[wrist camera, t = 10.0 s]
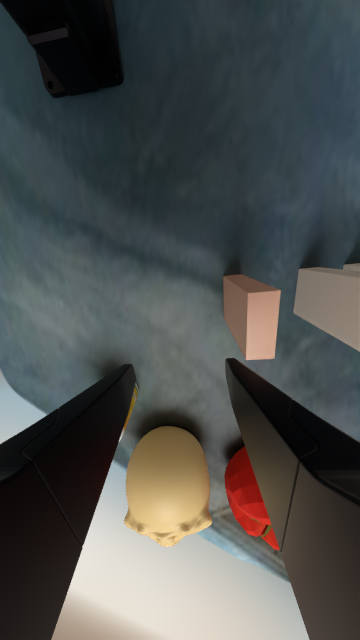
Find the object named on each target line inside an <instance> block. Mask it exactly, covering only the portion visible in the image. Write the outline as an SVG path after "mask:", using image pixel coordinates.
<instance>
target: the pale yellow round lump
mask: <svg viewBox="0 0 360 640" xmlns="http://www.w3.org/2000/svg"><path fill="white" fill-rule="evenodd" d="M126 495H127V501H128V513H127V515H126V517H125V520H124V523H125V525H126V526H127V527H129V528H131V529H133V530H135V531H136V532H137V533H139V534H141V535H147V536H149V537H150V538H151V539H153V540H156V542H157V543H159V544H160V545H162V546H165V547H169V546H173V545H174V544H176V543H178V542H179V540H180V539H182V538H183V537H184V536H186V535H190V534H193V533H196V532H198V531H200V530H202V529H205V528H206V527H208V526H210V525H211V524H212V518H211V515H210V513H209V511H208V507H209V498H210V481H209V473H208V467H207V462H206V458H205V454H204V452H203V449H202V447H201V445H200V444H199V442H198V441H197V439H196V438H195V437H194V436H193V435H192V434H191V433H189V432H187V431H186V430H184V429H181V428H178V427H173V426H163V427H158V428H156V429H154V430H152V431H150V432H148V433H147V434H146V435H145V436H144V437H143V438H142V439H141V440H140V441H139V442H138V444H137V445H136V447H135V449H134V451H133V453H132V455H131V458H130V461H129V464H128V468H127V475H126Z"/></svg>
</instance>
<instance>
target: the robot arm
mask: <svg viewBox="0 0 360 640" xmlns="http://www.w3.org/2000/svg"><path fill="white" fill-rule="evenodd" d="M0 3H1V4H2V5H3V7H4V8H5V9H6V11H7V12H8V13H9V15H10V16H11V17H12V18H13V20H14V21H15V22H16V24H17V25H18V26H19V28H20V29H21V30H22V32H23V33H24V34H25V36H26V37H27V40H28V42H29V43H30V45H31V46H32V47H33V49H34V50H35V51H36V55H37V58H38V62H39V66H40V70H41V74H42V77H43V81H44V85H45V88H46V90H47V91H48V92H49V94H50V95H51V96H52V97H55V98H57V97H62V96H67V95H71V96H73V95H78V94H83V93H88V92H93V91H98V90H99V89H102V88H107V87H112V86H117V85H120V84H121V83H122V81H123V71H122V64H121V58H120V51H119V45H118V38H117V31H116V25H115V18H114V11H113V5H112V0H0ZM116 72H118V76H114V74H115V73H116ZM52 85H54V87H53V89H52V90H51V86H52ZM225 365H226V379H227V384H228V389H229V394H230V399H231V404H232V408H233V411H234V414H235V417H236V420H237V423H238V426H239V429H240V432H241V435H242V438H243V441H244V444H245V447H246V450H247V453H248V456H249V459H250V462H251V465H252V468H253V471H254V474H255V477H256V480H257V483H258V486H259V489H260V492H261V495H262V498H263V501H264V504H265V507H266V510H267V513H268V516H269V519H270V522H271V525H272V528H273V531H274V534H275V537H276V540H277V543H278V546H279V549H280V551H281V555H282V558H283V561H284V564H285V567H286V570H287V573H288V576H289V579H290V582H291V585H292V588H293V591H294V594H295V597H296V600H297V603H298V606H299V609H300V612H301V615H302V618H303V621H304V624H305V627H306V630H307V633H308V636H309V639H310V640H360V442H359V441H357V440H355V439H354V438H352V437H351V436H349V435H347V434H346V433H344V432H342V431H341V430H339V429H337V428H336V427H334V426H332V425H331V424H329V423H328V422H326V421H324V420H323V419H321V418H320V417H318V416H317V415H315V414H314V413H312V412H311V411H309V410H308V409H306V408H305V407H303V406H302V405H300V404H299V403H298V402H296V401H295V400H292V398H290V397H289V396H287V395H286V394H285V393H283V392H282V391H280V390H279V389H278V388H276V387H275V386H273V385H272V384H270V383H269V382H268V381H266V380H265V379H263V378H262V377H261V376H259V375H258V374H256V373H255V372H253V371H252V370H251V369H249V368H248V367H246V366H245V365H244V364H242V363H241V362H239V361H238V360H236V359H235V358H227V359H226V361H225ZM135 383H136V376H135V372H134V368H133V365H132V364H124V365H122V366H121V367H119V368H118V369H116V370H115V371H113V372H112V373H110V374H109V375H107V376H106V377H104V378H103V379H101V380H100V381H98V382H97V383H95V384H94V385H92V386H91V387H89V388H88V389H86V390H85V391H83V392H82V393H80V394H79V395H77V396H76V397H74V398H73V399H71V400H70V401H68V402H67V403H65V404H64V405H62V406H61V407H59V409H56V410H54V411H53V412H52V413H50V414H49V415H47V416H45V417H44V418H42V419H41V420H39V421H38V422H36V423H35V424H33V425H31V426H30V427H28V428H26V429H25V430H23V431H22V432H20V433H18V434H17V435H15V436H13V437H12V438H10V439H8V440H7V441H5V442H3V443H2V444H0V640H51V638H52V635H53V633H54V630H55V627H56V624H57V621H58V618H59V615H60V612H61V609H62V606H63V603H64V601H65V598H66V595H67V592H68V589H69V586H70V583H71V580H72V577H73V574H74V571H75V568H76V565H77V562H78V560H79V557H80V554H81V551H82V546H83V544H84V541H85V539H86V536H87V533H88V530H89V527H90V524H91V521H92V518H93V515H94V512H95V509H96V506H97V503H98V501H99V498H100V495H101V492H102V489H103V486H104V483H105V480H106V477H107V474H108V471H109V468H110V465H111V463H112V460H113V457H114V454H115V451H116V448H117V445H118V442H119V439H120V436H121V433H122V430H123V428H124V425H125V422H126V419H127V416H128V413H129V409H130V405H131V401H132V396H133V392H134V387H135Z"/></svg>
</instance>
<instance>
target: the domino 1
mask: <svg viewBox="0 0 360 640" xmlns="http://www.w3.org/2000/svg"><path fill="white" fill-rule="evenodd" d="M223 291H224V319H225V321H226V323H227V325H228V327H229V329H230V331H231V332H232V334H233V336H234V338H235V340H236V342H237V344H238V346H239V348H240V350H241V352H242V353H243V355H244V357H245V359H246V360H257V359H274V356H275V345H276V334H277V324H278V313H279V303H280V292H281V290H279V289H276V288H274V287H271V286H269V285H266V284H264V283H262V282H259V281H257V280H254V279H252V278H250V277H247V276H245V275H242V274H239V275H229V276H223Z"/></svg>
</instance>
